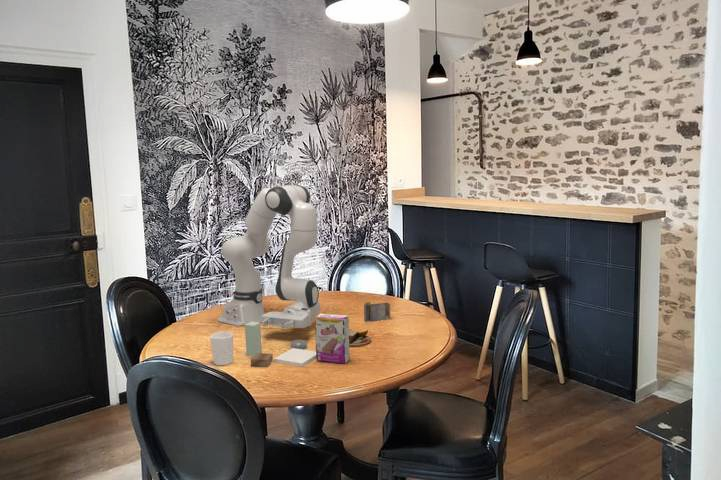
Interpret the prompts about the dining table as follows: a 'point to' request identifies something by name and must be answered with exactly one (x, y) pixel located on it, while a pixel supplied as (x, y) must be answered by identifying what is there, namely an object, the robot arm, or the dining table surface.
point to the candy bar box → (332, 338)
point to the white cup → (222, 348)
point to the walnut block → (261, 360)
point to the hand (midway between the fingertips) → (273, 325)
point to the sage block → (253, 338)
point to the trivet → (296, 357)
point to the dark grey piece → (376, 311)
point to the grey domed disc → (299, 344)
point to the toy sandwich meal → (358, 338)
